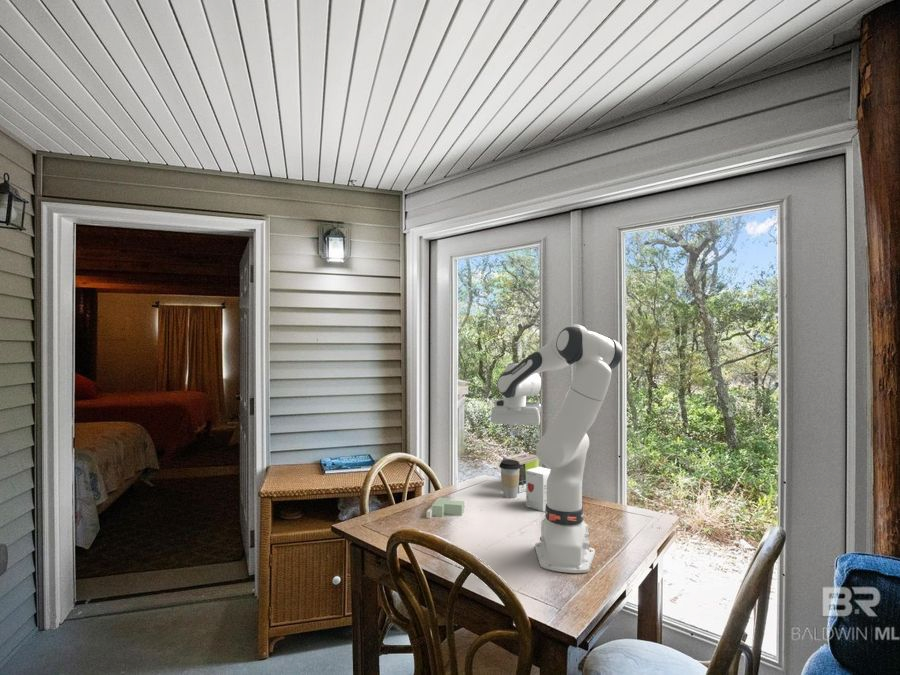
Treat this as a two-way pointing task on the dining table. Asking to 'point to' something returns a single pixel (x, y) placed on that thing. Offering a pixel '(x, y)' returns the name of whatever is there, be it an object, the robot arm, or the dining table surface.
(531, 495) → the supplement box
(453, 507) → the t block
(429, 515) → the fence
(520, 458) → the tea box
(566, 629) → the dining table surface
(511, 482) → the coffee cup
